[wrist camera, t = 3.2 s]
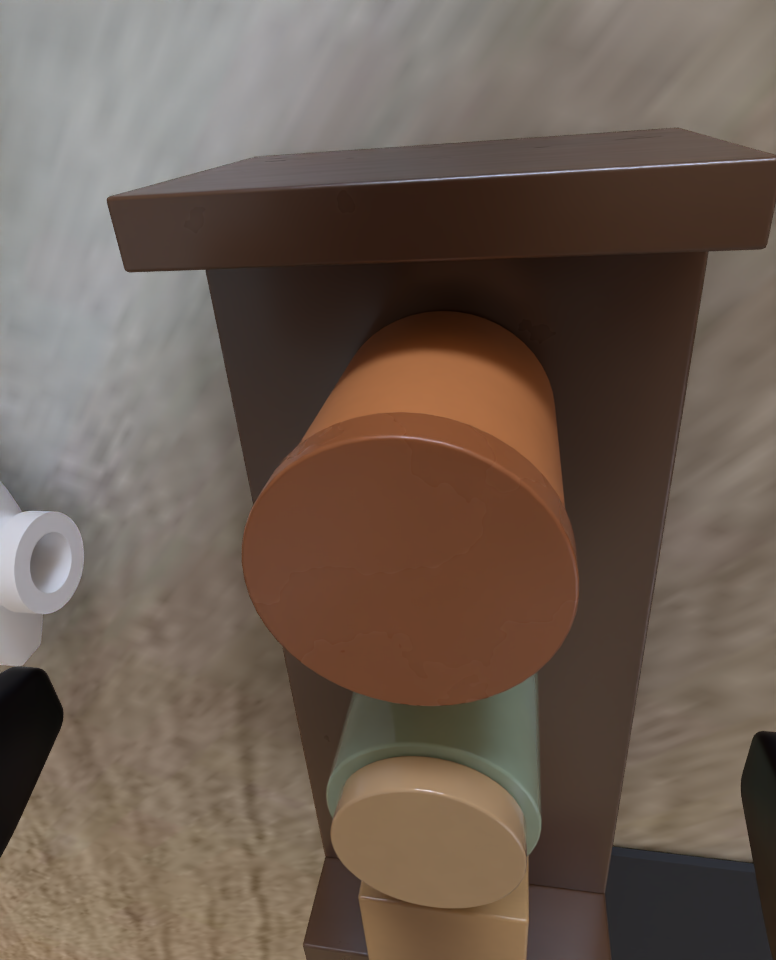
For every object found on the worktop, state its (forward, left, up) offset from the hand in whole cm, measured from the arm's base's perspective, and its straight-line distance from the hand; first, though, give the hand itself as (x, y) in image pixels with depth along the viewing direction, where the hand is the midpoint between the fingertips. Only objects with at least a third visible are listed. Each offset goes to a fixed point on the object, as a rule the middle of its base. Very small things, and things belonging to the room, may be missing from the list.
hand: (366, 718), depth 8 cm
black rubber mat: (-9, +25, -12) cm, 30 cm away
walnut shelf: (0, +6, -12) cm, 14 cm away
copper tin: (0, -1, -8) cm, 8 cm away
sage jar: (0, +6, -8) cm, 10 cm away
